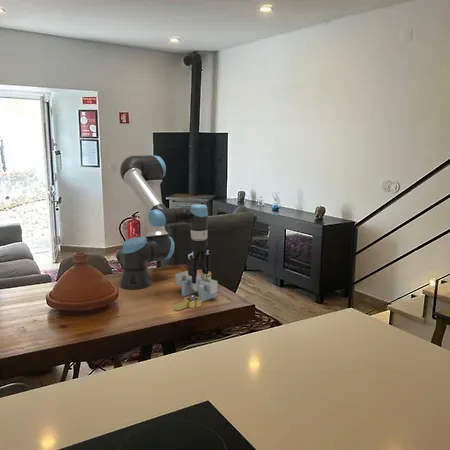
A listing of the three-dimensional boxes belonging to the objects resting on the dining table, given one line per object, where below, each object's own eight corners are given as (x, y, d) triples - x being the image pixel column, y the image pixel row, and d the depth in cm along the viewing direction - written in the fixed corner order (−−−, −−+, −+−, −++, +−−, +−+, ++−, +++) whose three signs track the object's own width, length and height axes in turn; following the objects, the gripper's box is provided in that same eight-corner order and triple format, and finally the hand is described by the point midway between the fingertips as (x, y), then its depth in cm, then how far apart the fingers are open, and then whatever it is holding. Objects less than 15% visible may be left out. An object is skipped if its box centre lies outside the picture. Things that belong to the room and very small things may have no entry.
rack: (180, 297, 204) (180, 280, 203) (194, 292, 211) (194, 276, 210) (203, 305, 194) (203, 287, 193) (217, 299, 201) (218, 283, 200)
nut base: (177, 307, 191) (177, 295, 190) (192, 302, 198) (192, 290, 197) (192, 312, 185) (192, 300, 184) (206, 307, 192) (207, 295, 191)
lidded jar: (210, 291, 212) (210, 273, 210) (188, 291, 212) (188, 272, 210) (211, 285, 222) (211, 267, 221) (190, 284, 223) (190, 266, 221)
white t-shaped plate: (175, 284, 207) (175, 273, 206) (186, 280, 212) (186, 270, 211) (208, 294, 193) (208, 283, 192) (219, 291, 198) (219, 280, 197)
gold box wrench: (192, 300, 196) (192, 294, 196) (204, 304, 192) (204, 298, 191) (169, 308, 187) (169, 302, 186) (182, 312, 182) (182, 306, 181)
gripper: (191, 243, 189) (191, 295, 193) (218, 237, 202) (218, 286, 206) (179, 240, 194) (179, 291, 198) (206, 235, 206) (206, 282, 210)
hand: (199, 288), depth 202 cm, fingers closed on white t-shaped plate, 4 cm apart
